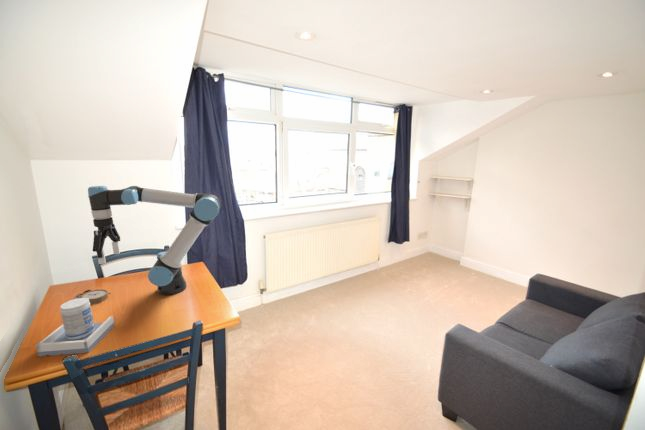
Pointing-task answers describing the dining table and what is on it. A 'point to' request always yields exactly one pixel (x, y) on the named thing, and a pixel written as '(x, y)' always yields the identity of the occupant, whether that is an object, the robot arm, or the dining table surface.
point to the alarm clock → (94, 295)
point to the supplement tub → (77, 318)
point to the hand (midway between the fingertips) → (110, 258)
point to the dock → (62, 345)
